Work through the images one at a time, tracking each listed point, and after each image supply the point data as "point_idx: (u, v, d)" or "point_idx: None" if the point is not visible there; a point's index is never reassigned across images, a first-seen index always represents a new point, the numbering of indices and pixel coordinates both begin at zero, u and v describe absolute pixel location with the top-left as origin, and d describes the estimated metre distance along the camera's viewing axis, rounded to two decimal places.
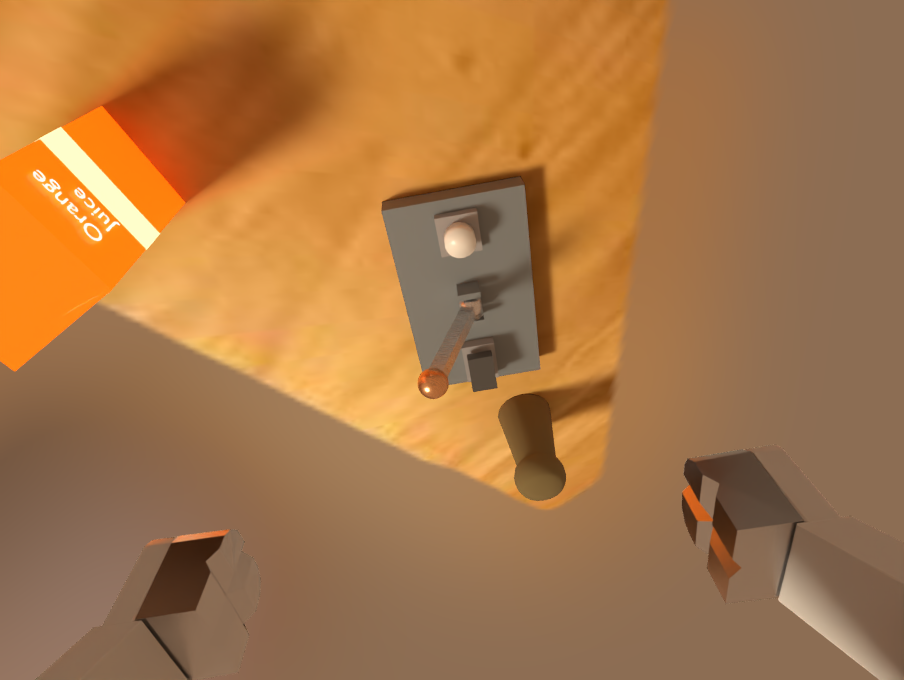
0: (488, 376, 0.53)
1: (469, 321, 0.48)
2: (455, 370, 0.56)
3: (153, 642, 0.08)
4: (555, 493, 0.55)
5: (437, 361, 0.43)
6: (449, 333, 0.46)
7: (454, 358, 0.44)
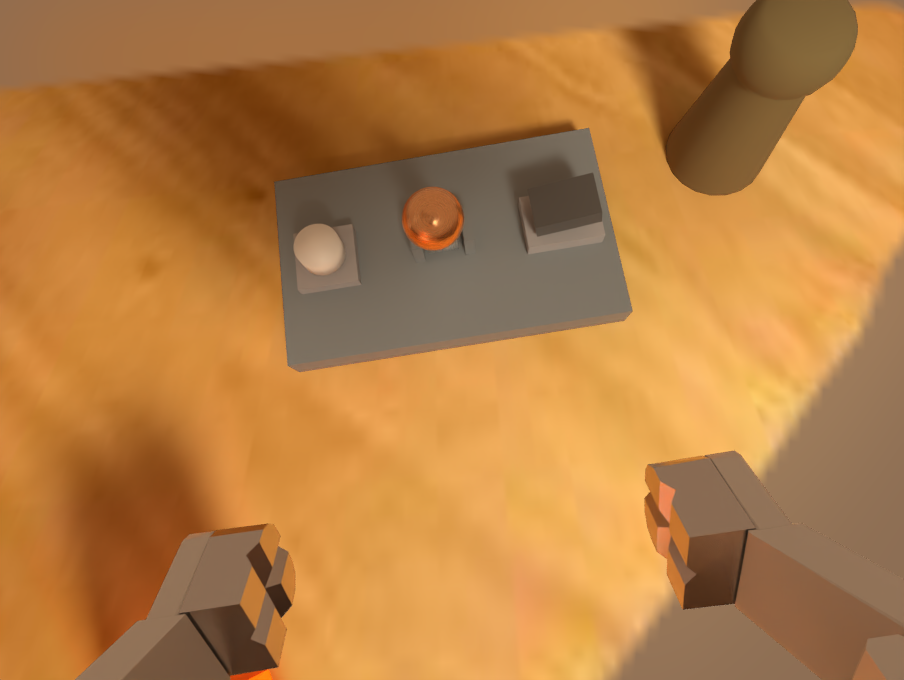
0: (568, 190, 0.30)
1: None
2: (589, 261, 0.32)
3: (196, 636, 0.08)
4: None
5: None
6: None
7: None
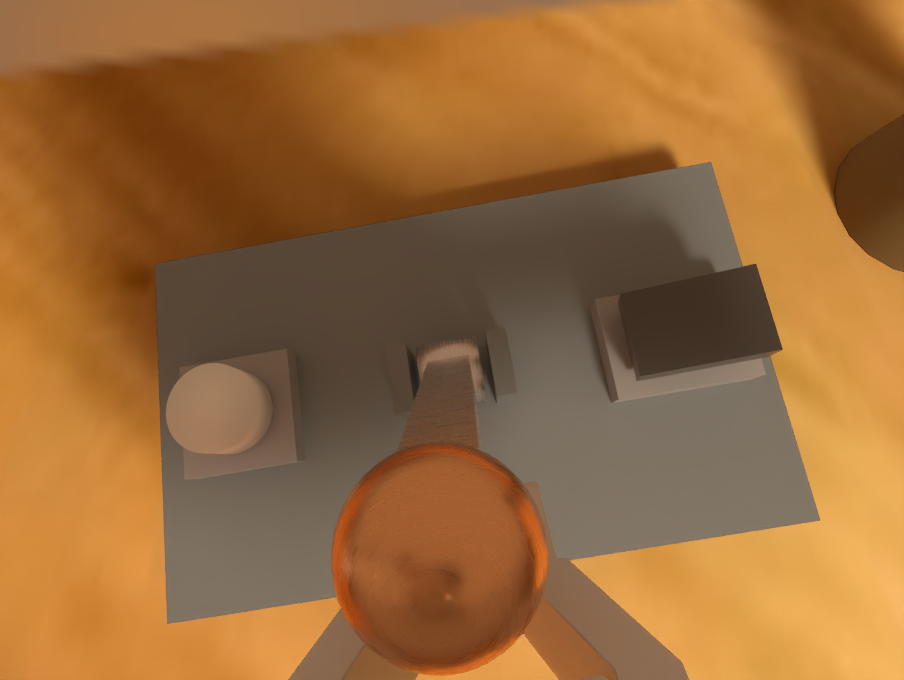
0: (704, 300, 0.15)
1: (441, 369, 0.14)
2: (728, 418, 0.17)
3: None
4: None
5: None
6: None
7: (457, 413, 0.09)
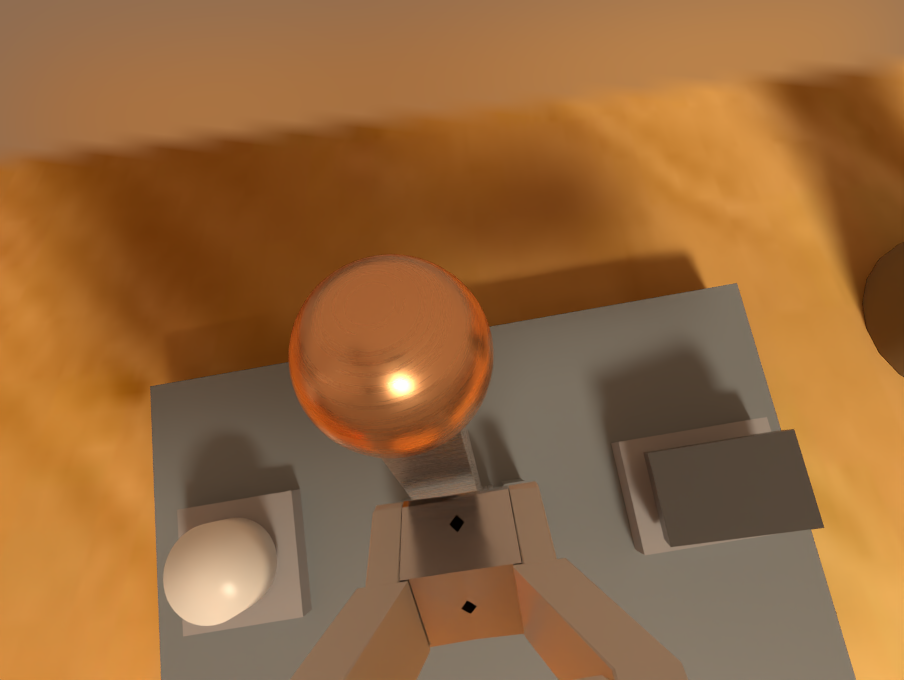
0: (739, 467, 0.14)
1: None
2: (759, 568, 0.16)
3: (412, 604, 0.08)
4: None
5: None
6: None
7: None
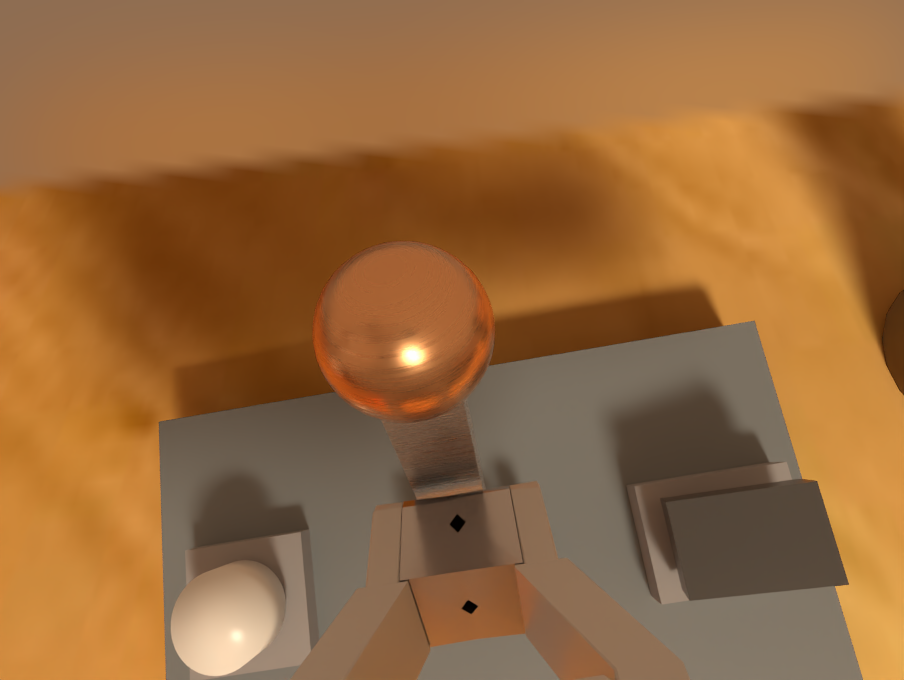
0: (760, 519, 0.14)
1: None
2: (778, 617, 0.16)
3: (412, 604, 0.08)
4: None
5: None
6: None
7: None
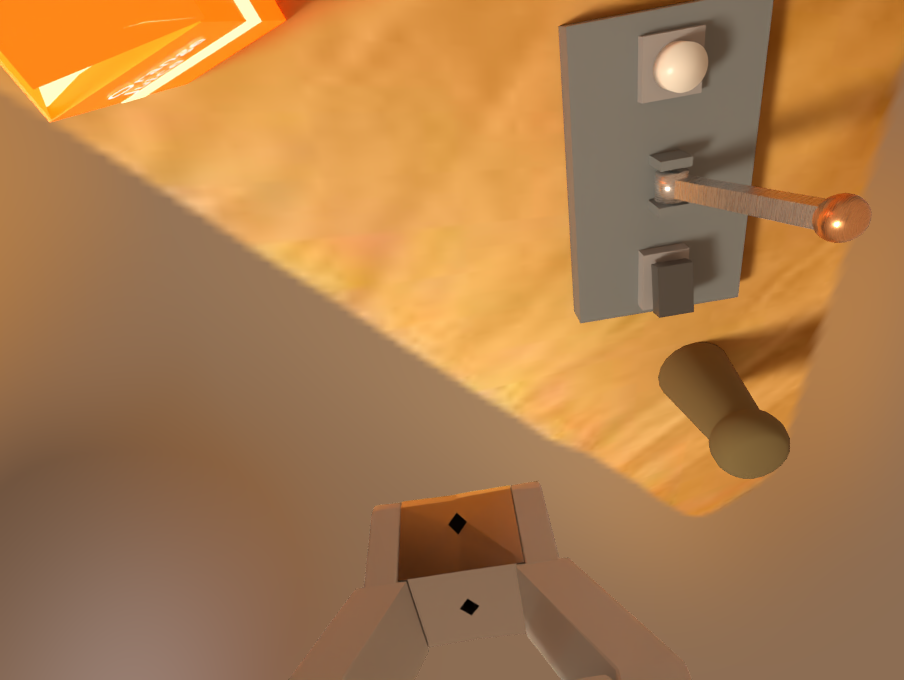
0: (683, 293, 0.37)
1: None
2: (624, 295, 0.41)
3: (411, 605, 0.08)
4: (775, 466, 0.38)
5: (802, 200, 0.28)
6: (736, 190, 0.31)
7: None
